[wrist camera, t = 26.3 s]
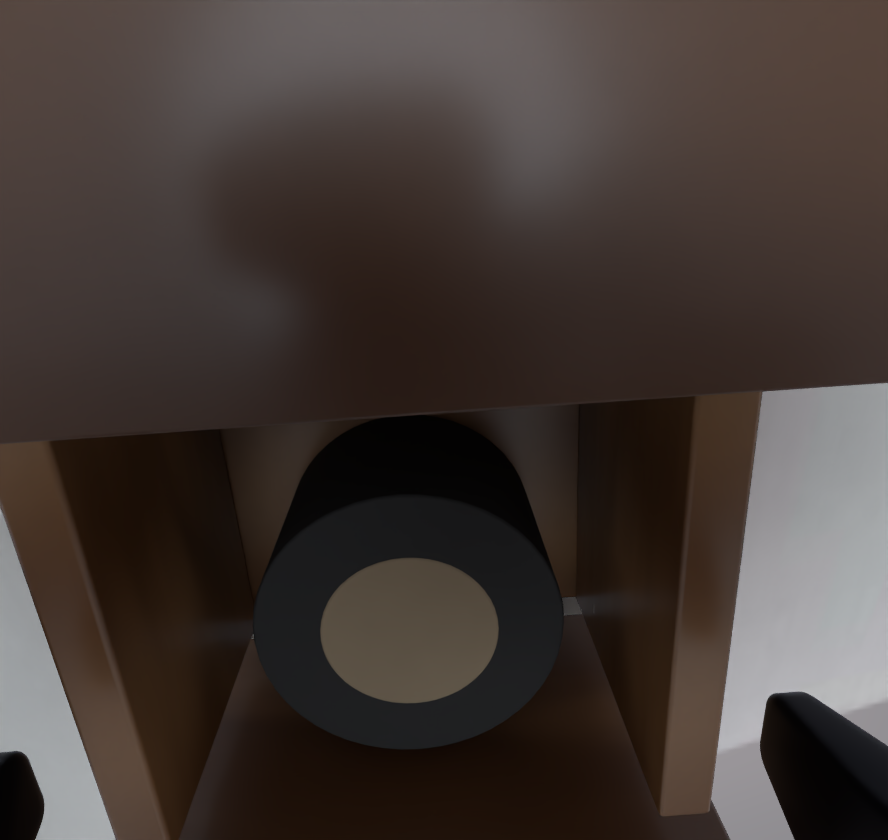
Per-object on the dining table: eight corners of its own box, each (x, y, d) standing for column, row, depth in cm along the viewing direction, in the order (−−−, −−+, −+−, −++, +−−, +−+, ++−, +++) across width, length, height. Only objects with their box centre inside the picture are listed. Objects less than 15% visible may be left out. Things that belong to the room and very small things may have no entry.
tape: (529, 613, 15) (562, 741, 12) (308, 628, 15) (276, 761, 11) (528, 405, 13) (568, 485, 10) (276, 421, 13) (226, 507, 10)
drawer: (614, 763, 18) (720, 1073, 12) (252, 791, 18) (164, 1121, 12) (646, 129, 12) (889, 79, 6) (108, 162, 12) (-227, 146, 6)
